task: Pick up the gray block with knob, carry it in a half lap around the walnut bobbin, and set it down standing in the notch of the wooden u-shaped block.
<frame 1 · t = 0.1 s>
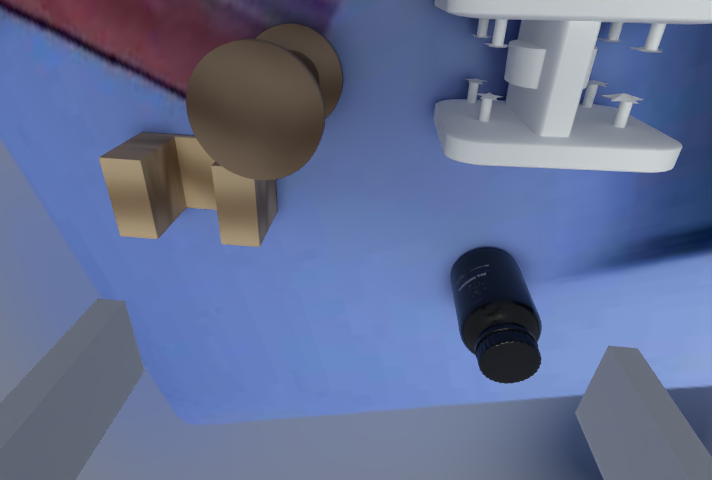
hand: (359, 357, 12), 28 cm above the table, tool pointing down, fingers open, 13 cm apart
wooden u-shaped block: (212, 173, 40), on the table
supplement bottle: (482, 273, 44), on the table
cable organizer: (524, 51, 33), on the table
bobbin: (294, 77, 35), on the table
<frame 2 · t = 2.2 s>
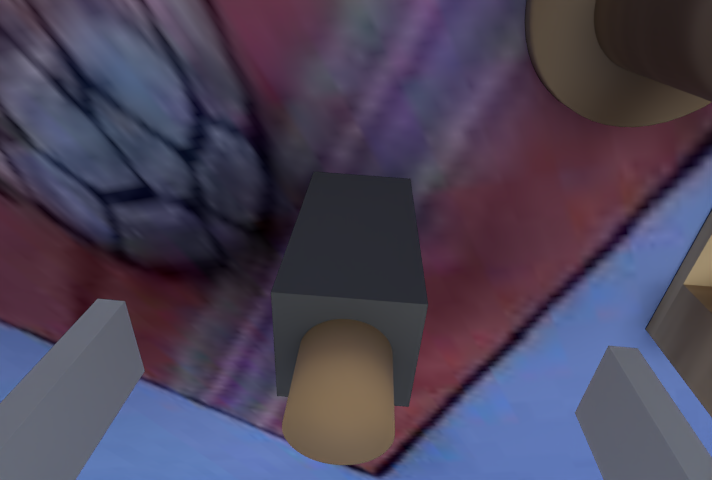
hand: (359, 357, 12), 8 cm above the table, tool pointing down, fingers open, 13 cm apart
gray block with knob: (359, 217, 19), on the table
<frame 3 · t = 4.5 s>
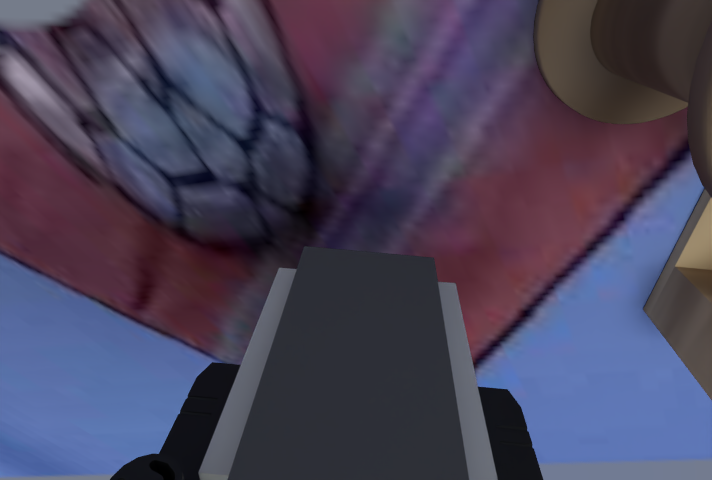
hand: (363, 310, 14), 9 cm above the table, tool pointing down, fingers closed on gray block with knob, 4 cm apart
gray block with knob: (364, 302, 14), point 9 cm above the table, touching gripper
bobbin: (641, 14, 17), on the table
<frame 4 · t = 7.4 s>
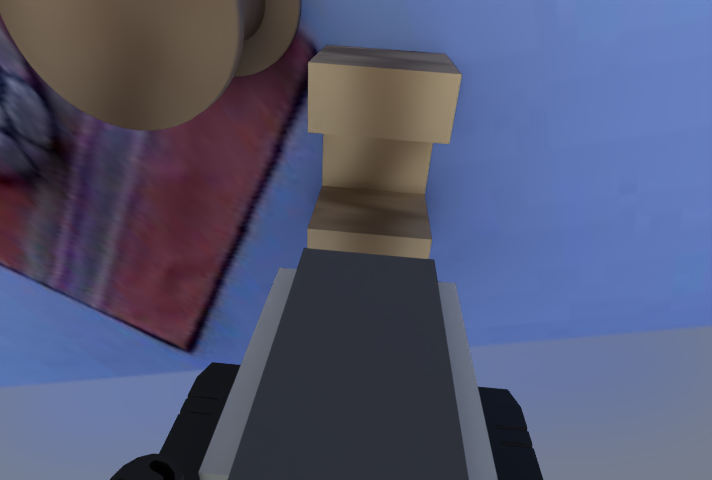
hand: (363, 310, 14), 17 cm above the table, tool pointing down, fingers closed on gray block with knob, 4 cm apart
wooden u-shaped block: (377, 148, 28), on the table
gray block with knob: (364, 304, 14), point 16 cm above the table, touching gripper
when the fingers open (2 cm above the table, at t = 10.4 s): gray block with knob stays where it is, resting on wooden u-shaped block.
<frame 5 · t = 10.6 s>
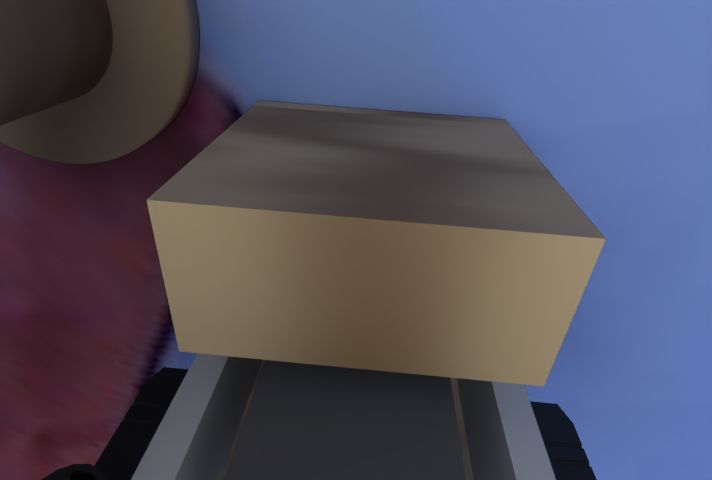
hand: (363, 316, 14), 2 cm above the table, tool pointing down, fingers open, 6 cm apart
wooden u-shaped block: (366, 280, 15), on the table
gray block with knob: (364, 290, 15), point 1 cm above the table, touching wooden u-shaped block
bobbin: (50, 7, 11), on the table
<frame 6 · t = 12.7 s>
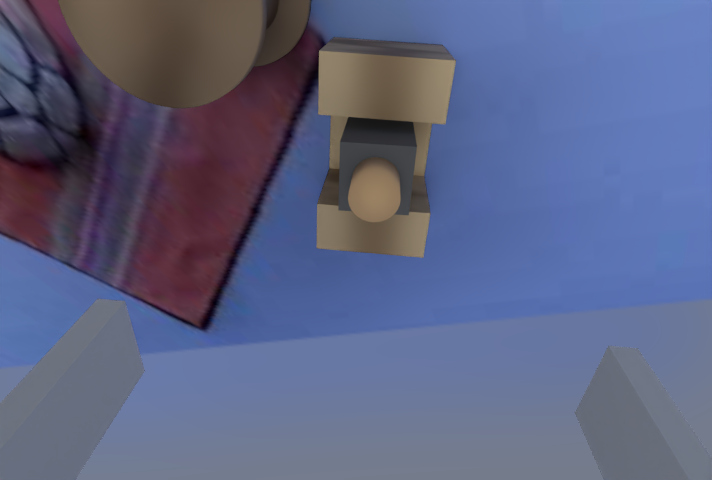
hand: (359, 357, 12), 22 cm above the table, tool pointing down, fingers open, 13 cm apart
wooden u-shaped block: (380, 132, 31), on the table
gray block with knob: (379, 135, 30), point 1 cm above the table, touching wooden u-shaped block
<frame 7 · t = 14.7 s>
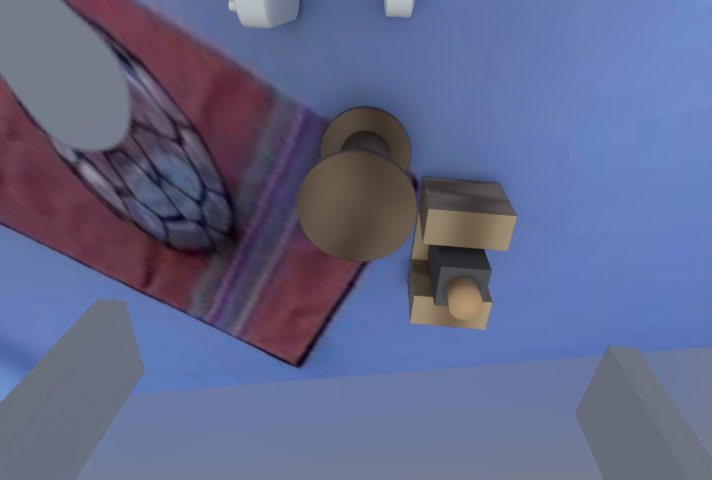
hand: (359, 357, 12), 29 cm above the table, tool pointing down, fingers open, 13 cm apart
wooden u-shaped block: (449, 235, 43), on the table
gray block with knob: (450, 238, 42), point 1 cm above the table, touching wooden u-shaped block
bobbin: (365, 151, 39), on the table
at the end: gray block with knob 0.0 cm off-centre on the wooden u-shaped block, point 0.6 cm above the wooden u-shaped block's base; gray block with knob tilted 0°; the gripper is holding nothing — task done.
